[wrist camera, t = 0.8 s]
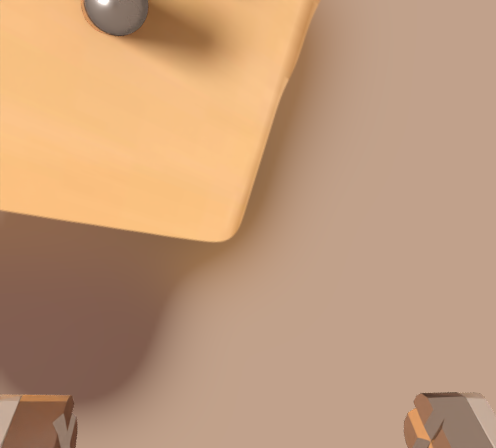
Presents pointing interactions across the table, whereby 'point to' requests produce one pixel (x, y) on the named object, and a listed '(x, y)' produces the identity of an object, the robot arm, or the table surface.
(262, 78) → the table surface
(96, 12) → the cylinder
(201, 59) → the table surface
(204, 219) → the table surface
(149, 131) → the table surface
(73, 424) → the robot arm
